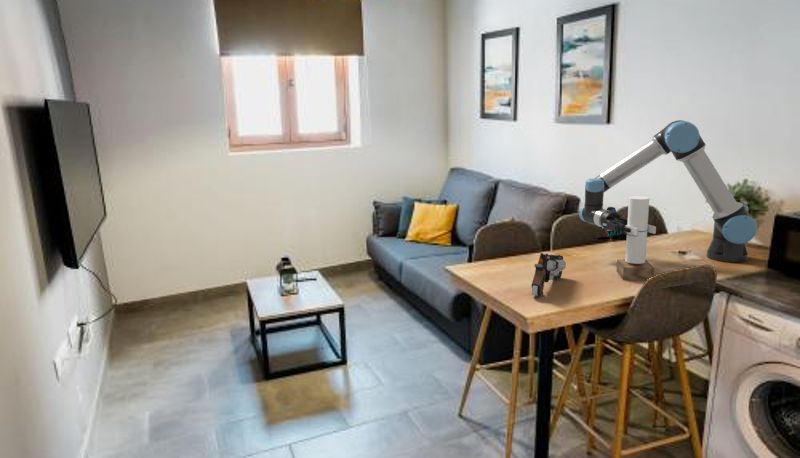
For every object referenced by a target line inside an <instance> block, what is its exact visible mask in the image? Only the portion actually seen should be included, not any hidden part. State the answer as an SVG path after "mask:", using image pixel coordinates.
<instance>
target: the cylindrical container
mask: <svg viewBox="0 0 800 458" xmlns="http://www.w3.org/2000/svg"><path fill="white" fill-rule="evenodd" d="M649 209H650V197H649V196H643V195H633V196H628V204H627V219H628V222H627V225H628V226H631V227H635V228H638V229H639V230H638V236H635V235H632V234H629V233H626V242H625V243H626V244H625V258H624V259H625V261H626V262H629V263H634V264H642V263H645V260H646V258H647V257H646V256H647V255H646V254H647V239H648V232H647V227H648V225H649Z"/></svg>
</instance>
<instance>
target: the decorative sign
mask: <svg viewBox="0 0 800 458" xmlns="http://www.w3.org/2000/svg"><path fill="white" fill-rule="evenodd" d="M606 210H609V211H612V212H616V213H617V211H616V207H613V206H608V207H607V208H606ZM604 229H605V228H603V231H604ZM606 230H607V232H608V234H609V237H608V238H612V237H618V236H622V235H623V234H622V235H621V231H619V232H615V231H613V230H608V229H606ZM624 233H625V234H626V232H625V231H624ZM623 236H624V235H623Z"/></svg>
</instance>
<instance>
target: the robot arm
mask: <svg viewBox="0 0 800 458" xmlns="http://www.w3.org/2000/svg"><path fill="white" fill-rule="evenodd" d="M706 145H707V144H706V142H704V140H703V138H702V136H701V135H700V132H699V128H698V127H697V125H695V124H693V123H692V122H690V121H686V120H682V119H681V120H679V119H678V120H673V121H671V122H670V123H668V124H667V125H666V126H665V127H664V128H662V129H661V130H660V131H659V132H658V133H656V134H654V135H652V139H651V140H650V141H647V143H645V144H643V145H642V146H641V147H639V148H638V149H636V150H635V151H633V152H631V153H630V154H629V155H628V156H626V157H624V158H623V159H621V160H620V161H618V162H617V163H615V164H614V165H612V166H611V167H609V168H608V169H606V170H605V171H603V172H602V173H601V174H598V175H597V176H596V177H594V178H588V179H586V180H585V185H584V205H583V206H582V207H581V208H580V211H579V213H578V214H579V219H580V220H581V221H583V222H585V223H587V224H588V225H593V226H596V227H599V228H600V227H602V229H603V228H605V229H608V230H613V231H615V232H619V231H621V234H624V231H625V234H627V233H629V234H632V235H635V236H638V230H639V229H638V228H635V227H631V226H628V225H627V222H628V218H625V217H621V215H620V214H619V213H618V212H617V211H616V212H612V211H609V210H607V209H605V208H604V195H605V194H604V193H605V192H607V191H608V190H610V189H611V188H612V187H615V186H616V185H617V184H619V183H621V182H622V181H623V180H625V179H627V178H629V177H630V176H632V175H633V174H634V173H636V172H638V171H639V170H641V169H642V168H644V167H645V166H647V165H649V164H650V163H652V162H653V161H655V160H656V159H658V158H660V157H661V156H663V155H668V154H670V153H671V154H672V155H673V157H674V158H675V160H676V161H678V162H682V163H683V165H684V166H685V168H686V170H687V172H688V173H689V175H690V176H691V178H692V179H693V181H694V183H695V185H696V186H697V187H698V189H699V191H700V192H701V194H702V196H703V197H704V199H705V200H706V202H707V205H709V206H710V208H711V210H712V212H713V214H712V216H711V217H712V219H713V221H714V222H713V223H714V224H713V234H712V240H711V242H710V244H709V245H708V248H707V251H706V257H707V258H709V259H710V260H714V261H718V262H723V263H724V262H727V263H743V262H747V261H748V260H749V252H748V249H747V245H746V243H748V242H750V241H751V240H752V239H753V238H754V237H755V236H756V234H757V232H758V226H757V223H756V221H755V219H753V217H751V215H750V213H749V207H748V205H746V204H743V203H742V202H738V201H736V199H735V198H734V197H733V195H732V193H731V191H730V190H729V188H728V187H727V185H726V183H725V182H724V180H723V179H722V176H721V175H720V173H719V172H718V170H717V169H716V166H715V165H714V164H713V162H712V161H711V159H710V157H709V156H708V155H707V153H706V151H705V149H706V148H705V147H706ZM656 232H657V226H655V225H651V224H648V227H647V233H650V234H653V235H656Z"/></svg>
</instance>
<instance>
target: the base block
mask: <svg viewBox="0 0 800 458" xmlns="http://www.w3.org/2000/svg"><path fill="white" fill-rule="evenodd" d="M615 272H617V274H618V275H619V277H620V278H621V279H622V280H623V281H648V280H647V279H649V278H651V277H653V276H654V274H655V267H654V266H653V265H652V264H651V263H650V262H649V261H648V260H647V259H645V263H642V264H634V263H629V262H626V261H625V258H624V259H618V258H617V259H616V271H615Z"/></svg>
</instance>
